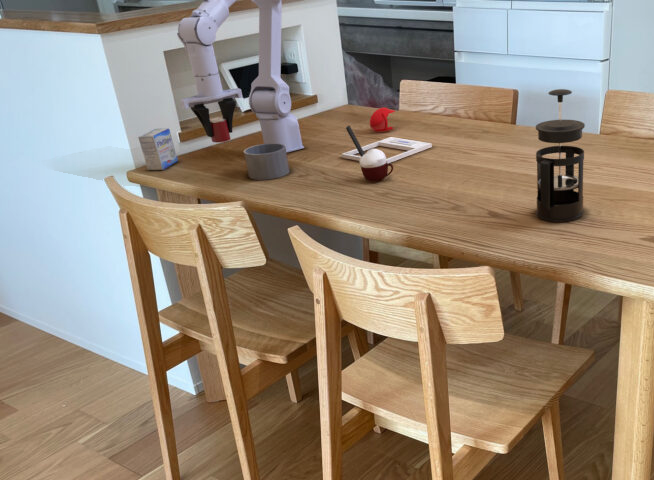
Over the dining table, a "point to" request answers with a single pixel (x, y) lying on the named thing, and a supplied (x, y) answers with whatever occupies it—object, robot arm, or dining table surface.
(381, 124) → the cap
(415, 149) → the photo frame
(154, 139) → the medicine box
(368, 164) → the cocoa
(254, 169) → the bucket
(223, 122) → the coffee pod
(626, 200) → the dining table surface
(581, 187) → the french press
